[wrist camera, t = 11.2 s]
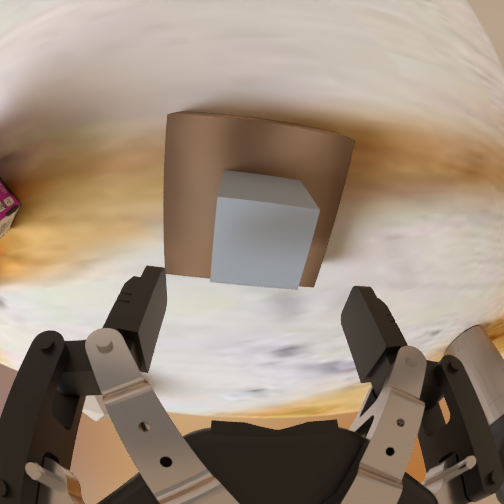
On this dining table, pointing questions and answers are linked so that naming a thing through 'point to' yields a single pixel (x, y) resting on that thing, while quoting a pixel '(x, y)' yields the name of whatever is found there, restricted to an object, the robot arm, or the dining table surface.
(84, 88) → the dining table surface
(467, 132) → the dining table surface
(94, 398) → the die
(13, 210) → the candy bar box
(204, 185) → the walnut block
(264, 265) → the slate cube
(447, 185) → the dining table surface
